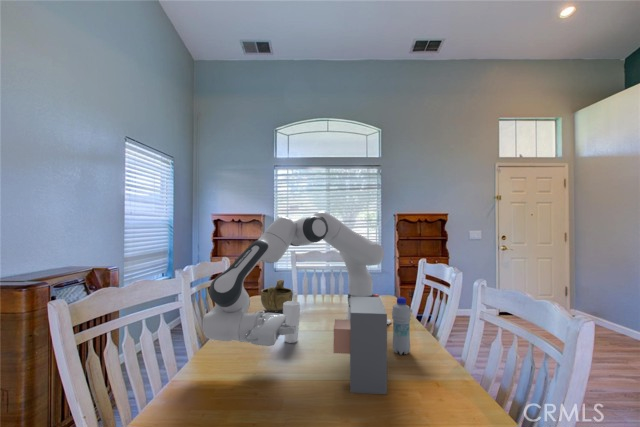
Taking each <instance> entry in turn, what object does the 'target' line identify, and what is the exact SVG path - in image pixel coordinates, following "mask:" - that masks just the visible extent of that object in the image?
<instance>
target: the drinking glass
mask: <svg viewBox="0 0 640 427" xmlns="http://www.w3.org/2000/svg"><path fill="white" fill-rule="evenodd" d="M282 314H284V315H286V316H287V324H289V325H295V326H296V331H295V333H294V334H286V335H284V337H283V338H284V342H286V343H288V344H294V343H297V342H298V340H299V329H300V328H299V326H300V316H301V304H300V301H299V302H298V301H297V300H296V301H295V300H292V301H288V302H284V303H283V311H282Z"/></svg>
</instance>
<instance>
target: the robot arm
mask: <svg viewBox="0 0 640 427" xmlns="http://www.w3.org/2000/svg"><path fill="white" fill-rule="evenodd" d="M322 240H323V241H324V242H325V243H327V244H329V245H330V246H331V247H332V248H334V249H336V250H337V251H339V256H340V258H341V259H342V261H343V262H344V265H345V268H346V271H347V278H348V293H347V303H348V304H347V305H348V306H347V312H346V314H347V315H346V319H345V320H350V296H358V297H380V294H377V293H373V287H374V286H373V280H374V279H373V276H372V274H371V273H370V272H369V270H368V268H367V267H369V266H378V265H379V264H382V262H383V260H384V257H385V251H384V248H383V246H382V245H381V244H379V243H377V242H374V241H372V240H370V239H369V238H367V237H366V236H363V235H362V234H360V233H357V232H355V231H354V230H352V229H351V228H350V227H348V226H347V225H345V224H344V223H343V222H342V221H341V220H339V219H338V218H336V217H335V216H333V215H331V214H330V213H328V212H326V211H324V210H319V211H317V212H315V213H314V214H313V215H312V216H308V217H303V218H299V219H297V220H294V221H293V220H292V219H291V218H289V217H287V216H279V217H277V218H276V219H275V220H274V221H273V222H272V223H271V224H270V225H269V226H268V227H267V228H266V229H265V230H264V232H263V233H262V234H261V236H260V237H259V238H258V239H257V240H254V241H253V242H252V243H251V244H250V245H248V246H247V248H246V249H244V251H243V252H242V253H241V254H239V256H238V257H237V258H236V259H235V261H233V263H232V264H230V266H229V267H228V268H227V269H225V270H224V271H223V272H221V273H220V274H219V275H217V276H216V277H215V278H214V279H213V280H212V282H211V283H210V286H209V288H208V290H209V291H208V294H209V295H208V296H209V298H210V300H211V301H212V302H213V303H215V305H214V306H213V308H212V309H211V310H209V312H206V313H205V314H204V315H203V317H202V321H201V329H202V333H203V335H204V336H205V337H206V338H207V339H209V340H211V341H212V340H213V341H220V342H232V341H236V342H239V343H250V344H252V345H256V346H262V347H264V346H265V347H270V346H271V347H272V346H274V345H275V343H276V342H277V340H278V339H279V337H280V336H285V335H286V334H294V333H295V331H296V326H295V325H289V324H287V316H286V315H284V314H283V313H279V312H265V310H258V311H256V312H248V311H249V308H250V305H251V299H250V295H249V294H248V292H247V289H245V287H244V281H245V279H246V277H248V276H249V274H250V273H251V272H252V271H253V269H255V267H256V266H257V265H258V264H259V263H261V262H263V263H267V264H275V263H277V262H279V261H280V260H281V259H282V257H283V256H284V255H285V254H286V252H287V251H288V249H289V247H290V246H293V247H299V246H301V247H302V246H308V245H310V244H314V243H319V242H320V241H322ZM387 324H388V325H390V324H392V320H391V319H390V318H388V317H387Z"/></svg>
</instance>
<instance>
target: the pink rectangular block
mask: <svg viewBox="0 0 640 427" xmlns="http://www.w3.org/2000/svg"><path fill="white" fill-rule="evenodd" d="M350 337H351V328H350V320H346V319H334V325H333V354H345V355H350Z"/></svg>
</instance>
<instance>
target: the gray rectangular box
mask: <svg viewBox="0 0 640 427" xmlns="http://www.w3.org/2000/svg"><path fill="white" fill-rule="evenodd" d="M381 299H382V298H381V297H380V296H379V297H358V296H350V328H351V337H350V354H349V374H350V375H349V380H350V382H349V384H350V385H349V386H350V388H349V389H350V392H349V393H353V394H354V393H355V394H368V395H369V394H370V395H371V394H373V395H374V394H375V395H388V325H387V318H388V313H387V311H386V308H385V307H384V304H383V302H382V300H381Z"/></svg>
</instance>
